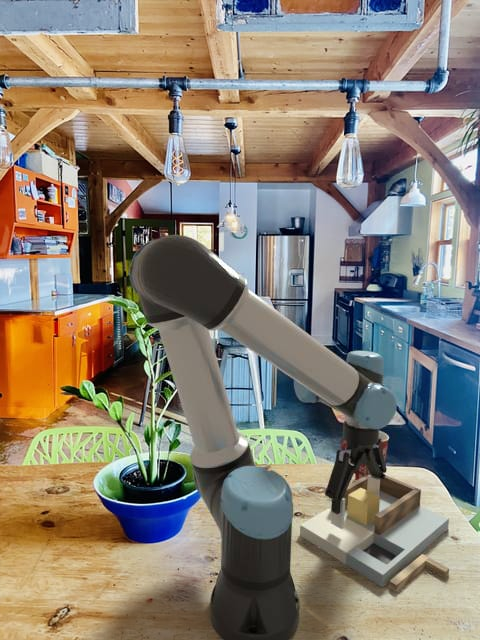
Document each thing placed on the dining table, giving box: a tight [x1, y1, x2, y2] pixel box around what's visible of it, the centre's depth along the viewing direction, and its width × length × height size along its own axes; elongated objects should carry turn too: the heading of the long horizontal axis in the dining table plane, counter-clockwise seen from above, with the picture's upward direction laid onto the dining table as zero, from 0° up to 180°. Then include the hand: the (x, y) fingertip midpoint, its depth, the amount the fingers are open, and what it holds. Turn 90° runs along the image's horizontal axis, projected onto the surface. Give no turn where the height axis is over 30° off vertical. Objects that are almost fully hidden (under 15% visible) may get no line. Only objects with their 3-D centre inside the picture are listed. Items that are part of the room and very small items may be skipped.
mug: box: [340, 430, 390, 481], centre depth 118 cm, size 13×9×14 cm
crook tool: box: [388, 553, 450, 593], centre depth 80 cm, size 12×5×1 cm, turn 130°
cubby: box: [330, 473, 422, 535], centre depth 100 cm, size 18×12×4 cm
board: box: [299, 490, 450, 588], centre depth 95 cm, size 28×20×2 cm
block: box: [347, 488, 380, 526], centre depth 97 cm, size 5×5×5 cm
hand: (355, 514), depth 95 cm, fingers open, 13 cm apart
